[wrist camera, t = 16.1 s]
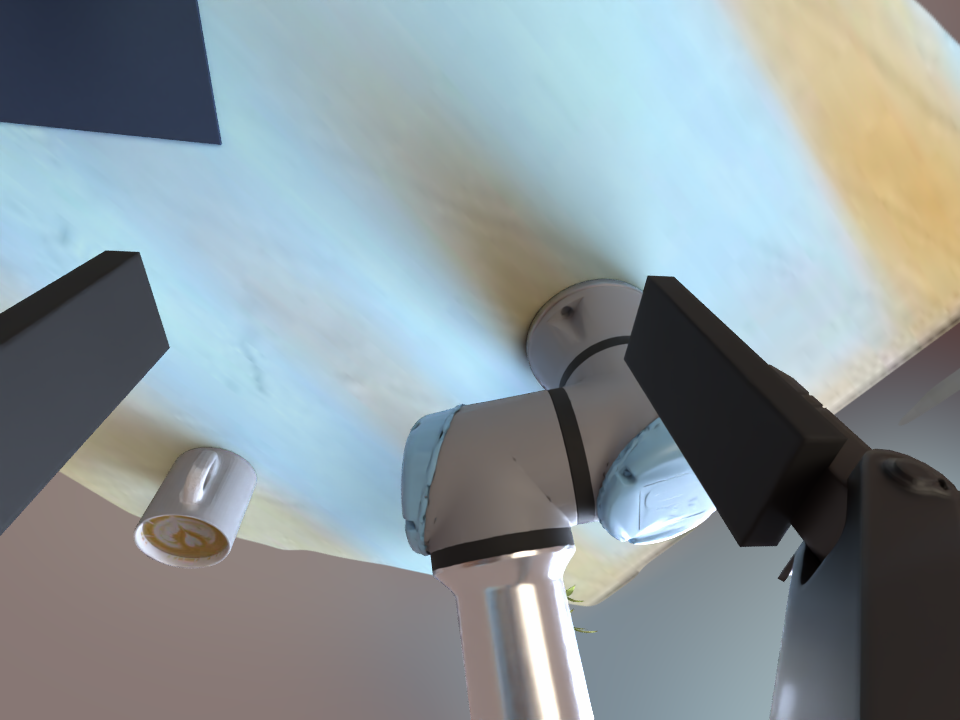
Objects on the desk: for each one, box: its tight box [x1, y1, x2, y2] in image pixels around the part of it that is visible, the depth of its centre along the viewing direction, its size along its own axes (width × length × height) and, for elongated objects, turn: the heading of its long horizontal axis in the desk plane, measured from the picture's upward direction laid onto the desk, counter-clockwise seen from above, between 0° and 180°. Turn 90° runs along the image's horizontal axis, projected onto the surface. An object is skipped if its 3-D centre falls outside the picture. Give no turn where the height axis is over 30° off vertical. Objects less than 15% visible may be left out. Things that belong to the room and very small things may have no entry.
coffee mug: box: [134, 447, 257, 568], centre depth 56 cm, size 13×10×10 cm
